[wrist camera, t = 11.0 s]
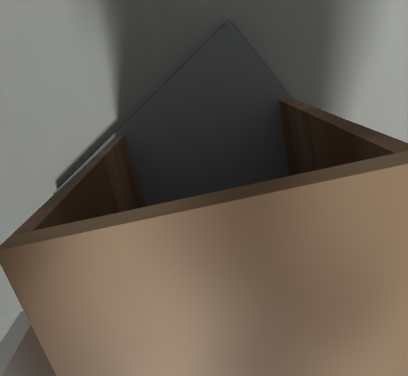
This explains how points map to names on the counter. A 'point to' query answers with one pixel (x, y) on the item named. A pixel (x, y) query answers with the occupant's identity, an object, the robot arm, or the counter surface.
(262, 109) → the mat
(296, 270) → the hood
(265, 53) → the counter surface
